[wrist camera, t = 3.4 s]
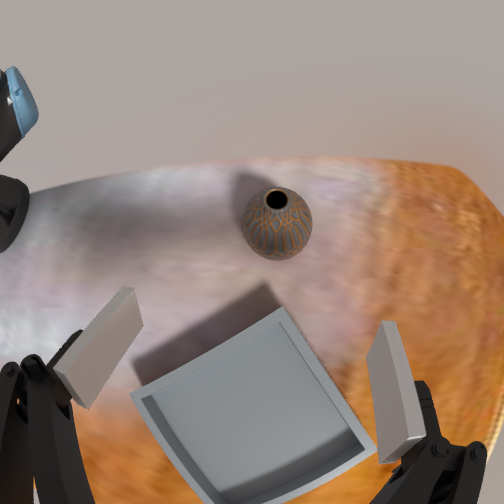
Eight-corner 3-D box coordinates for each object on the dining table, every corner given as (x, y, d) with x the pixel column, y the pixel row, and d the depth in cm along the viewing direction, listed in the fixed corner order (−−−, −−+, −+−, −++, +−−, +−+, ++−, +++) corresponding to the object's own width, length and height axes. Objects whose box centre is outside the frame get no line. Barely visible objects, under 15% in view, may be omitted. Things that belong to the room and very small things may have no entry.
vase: (236, 225, 32) (222, 184, 23) (290, 201, 32) (293, 155, 24) (262, 278, 29) (256, 252, 21) (319, 250, 30) (333, 216, 22)
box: (143, 389, 26) (129, 393, 23) (282, 310, 28) (282, 305, 25) (228, 508, 21) (223, 523, 17) (368, 439, 22) (378, 449, 19)
